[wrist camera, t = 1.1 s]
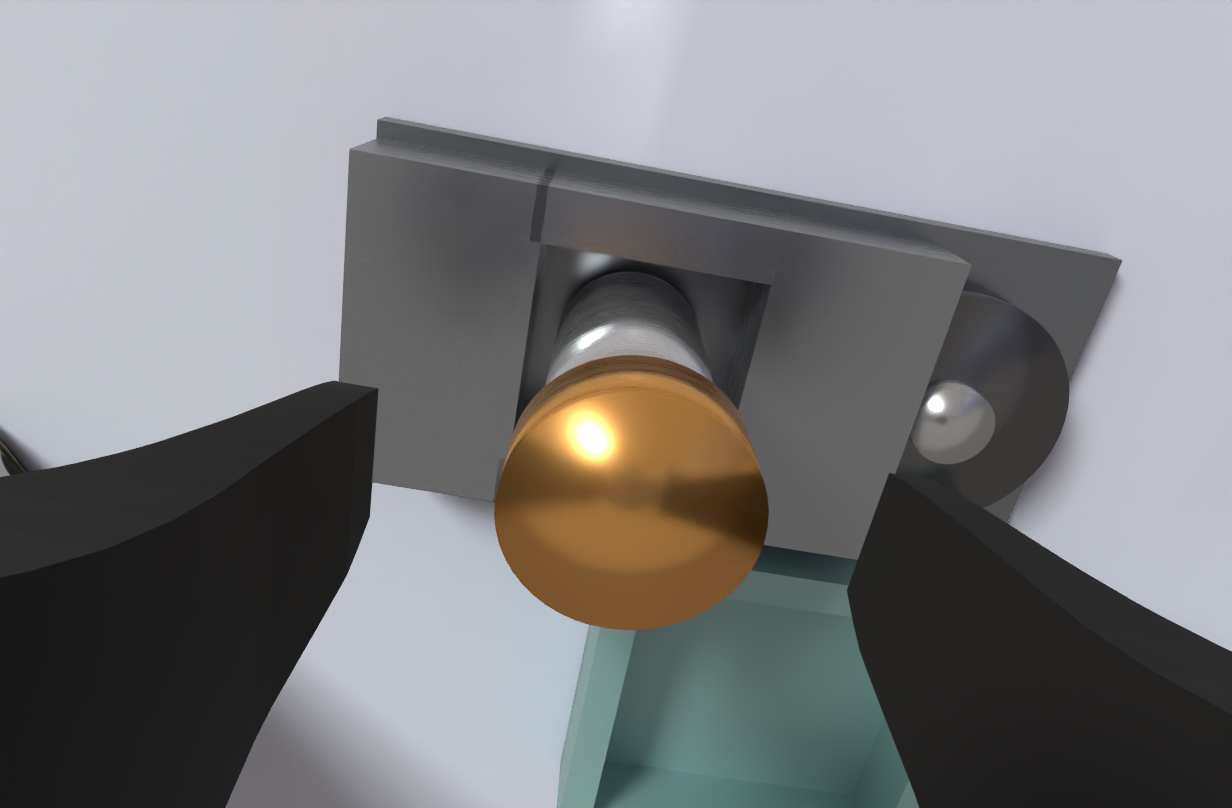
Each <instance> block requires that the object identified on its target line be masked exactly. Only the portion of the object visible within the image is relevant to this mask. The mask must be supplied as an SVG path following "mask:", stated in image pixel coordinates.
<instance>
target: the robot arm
mask: <svg viewBox="0 0 1232 808" xmlns="http://www.w3.org/2000/svg"><path fill="white" fill-rule="evenodd" d="M378 390H379V388H374V387H368V386H362V385H356V384H350V383H344V382H338V381H330V382H326V383H322V384H319V385H316V386H313V387H310V388H307V389H304V390H301V391H299V392H296V393H294V394H291V395H288V396H286V397H283V398H281V399H278V400H276V401H273V402H270V403H268V404H265V405H262V406H260V407H257V408H255V409H252V410H249V411H247V412H244V413H242V414H239V415H236V416H234V417H231V418H228V419H226V420H223V421H220V422H217V423H214V424H211V425H208V426H205V427H202V428H199V429H196V430H193V431H190V432H187V433H184V434H181V435H178V436H175V437H172V438H169V439H166V440H163V441H160V442H157V443H153V444H150V445H146V446H143V447H139V448H136V449H132V450H128V451H125V452H121V453H117V454H113V455H109V456H104V457H100V458H96V459H92V460H87V461H83V462H79V463H75V464H70V465H65V466H61V467H56V468H50V469H44V470H38V471H32V472H27V473H21V474H15V475H9V476H3V477H0V808H225V807H226V805H227V802H228V800H229V798H230V795H231V793H232V791H233V789H234V786H235V784H236V782H237V779H238V777H239V775H240V773H241V770H242V768H243V766H244V764H245V761H246V759H247V757H248V754H249V752H250V750H251V748H252V745H253V743H254V741H255V739H256V736H257V734H258V732H259V731H260V729H261V727H262V725H263V723H264V721H265V719H266V717H267V715H268V713H269V711H270V709H271V707H272V705H273V704H274V702H275V700H276V698H277V697H278V695H279V693H280V691H281V690H282V688H283V686H284V684H285V683H286V681H287V679H288V677H289V676H290V674H291V672H292V671H293V669H294V667H295V665H296V664H297V662H298V660H299V658H300V657H301V655H302V653H303V651H304V650H305V648H306V646H307V644H308V643H309V641H310V639H311V638H312V636H313V634H314V632H315V631H316V629H317V627H318V625H319V624H320V622H321V620H322V618H323V617H324V615H325V613H326V611H327V610H328V608H329V606H330V604H331V602H332V601H333V599H334V597H335V595H336V594H337V592H338V590H339V588H340V586H341V585H342V583H343V581H344V579H345V577H346V576H347V574H348V571H349V569H350V566H351V564H352V561H353V559H354V556H355V554H356V551H357V549H358V546H359V544H360V541H361V538H362V536H363V533H364V530H365V528H366V525H367V523H368V520H369V517H370V506H371V491H372V477H373V462H374V448H375V433H376V419H377V404H378ZM847 594H848V600H849V605H850V610H851V615H852V620H853V625H854V629H855V633H856V638H857V642H858V646H859V650H860V653H861V656H862V659H863V662H864V664H865V667H866V670H867V672H868V675H869V678H870V680H871V683H872V686H873V688H874V691H875V694H876V696H877V699H878V702H879V704H880V707H881V709H882V712H883V714H884V717H885V720H886V722H887V725H888V727H889V730H890V732H891V735H892V737H893V740H894V743H895V745H896V748H897V750H898V753H899V755H900V758H901V761H902V763H903V766H904V768H905V771H906V773H907V776H908V779H909V781H910V784H911V786H912V789H913V791H914V794H915V797H916V800H917V803H918V806H919V808H1232V652H1231V651H1229V650H1227V649H1225V648H1223V647H1221V646H1219V645H1217V644H1215V643H1213V642H1211V641H1209V640H1207V639H1205V638H1203V637H1201V636H1199V635H1197V634H1195V633H1193V632H1191V631H1189V630H1187V629H1185V628H1183V627H1181V626H1179V625H1177V624H1175V623H1173V622H1171V621H1170V620H1168V619H1166V618H1164V617H1162V616H1160V615H1158V614H1156V613H1154V612H1152V611H1151V610H1149V609H1147V608H1145V607H1143V606H1141V605H1140V604H1138V603H1136V602H1134V601H1132V600H1131V599H1129V598H1127V597H1126V596H1124V595H1122V594H1120V593H1119V592H1117V591H1115V590H1114V589H1112V588H1110V587H1108V586H1107V585H1105V584H1103V583H1102V582H1100V581H1098V580H1097V579H1095V578H1093V577H1091V576H1090V575H1088V574H1086V573H1085V572H1083V571H1081V570H1080V569H1078V568H1077V567H1075V566H1073V565H1072V564H1070V563H1068V562H1067V561H1065V560H1064V559H1062V558H1060V557H1059V556H1057V555H1056V554H1054V553H1053V552H1051V551H1049V550H1048V549H1046V548H1045V547H1043V546H1041V545H1040V544H1038V543H1037V542H1035V541H1034V540H1032V539H1031V538H1029V537H1027V536H1026V535H1024V534H1023V533H1021V532H1020V531H1018V530H1017V529H1015V528H1013V527H1012V526H1010V525H1009V524H1007V523H1006V522H1004V521H1003V520H1001V519H999V518H998V517H996V516H995V515H993V514H992V513H990V512H988V511H987V510H985V509H984V508H982V507H981V506H979V505H977V504H976V503H974V502H972V501H971V500H969V499H967V498H966V497H964V496H962V495H961V494H959V493H957V492H955V491H953V490H952V489H950V488H948V487H946V486H944V485H942V484H939V483H937V482H935V481H933V480H930V479H924V478H918V477H911V476H905V475H899V474H893V473H889V474H888V477H887V480H886V483H885V486H884V488H883V491H882V494H881V497H880V499H879V502H878V505H877V508H876V510H875V513H874V516H873V519H872V522H871V524H870V527H869V530H868V533H867V535H866V538H865V541H864V544H863V546H862V549H861V552H860V555H859V558H858V560H857V563H856V566H855V569H854V571H853V574H852V577H851V580H850V583H849V585H848V588H847Z"/></svg>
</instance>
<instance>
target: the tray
mask: <svg viewBox="0 0 1232 808" xmlns="http://www.w3.org/2000/svg"><path fill="white" fill-rule="evenodd" d="M856 563H857V560H855V559H849V558H843V557H836V556H830V555H824V554H818V553H811V552H805V551H799V550H793V549H786V548H780V547H774V546H768V545H763V547H762V550H761V552H760V555H759V557H758V559H757V561H756V563H755V564H754V566H753V568H752V570H751V571H750V572H749V574H748V575H747V576H746V578H745V579H744V580H743V582H742V583H741V584H740V585H739V586H738V587H737V588H736V589H735V590H734V591H733V592H732V593H731V594H730V595H729V596H727V597H726V598H725V599H724V600H722V601H721V602H720V603H719V604H717V605H715V606H714V607H712V608H711V609H709V610H707V611H706V612H704V613H702V614H700V615H698V616H695V617H693V618H691V619H689V620H686V621H683V622H680V623H677V624H674V625H670V626H665V627H661V628H655V629H646V630H617V629H607V628H602V627H597V626H592V625H590V626H589V631H588V635H587V640H586V645H585V650H584V655H583V659H582V664H581V669H580V674H579V678H578V683H577V688H576V693H575V697H574V702H573V707H572V712H571V716H570V721H569V726H568V731H567V736H566V740H565V745H564V750H563V755H562V759H561V764H560V775H559V787H558V798H557V808H919V806H918V803H917V800H916V797H915V794H914V791H913V789H912V786H911V784H910V781H909V779H908V776H907V773H906V771H905V768H904V766H903V763H902V761H901V758H900V755H899V753H898V750H897V748H896V745H895V743H894V740H893V737H892V735H891V732H890V730H889V727H888V725H887V722H886V720H885V717H884V714H883V712H882V709H881V707H880V704H879V702H878V699H877V696H876V694H875V691H874V688H873V686H872V683H871V680H870V678H869V675H868V672H867V670H866V667H865V664H864V662H863V659H862V656H861V653H860V650H859V646H858V642H857V638H856V633H855V629H854V625H853V620H852V615H851V610H850V605H849V600H848V594H847V588H848V585H849V583H850V580H851V577H852V574H853V571H854V569H855V566H856Z"/></svg>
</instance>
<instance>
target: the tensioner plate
mask: <svg viewBox="0 0 1232 808" xmlns="http://www.w3.org/2000/svg"><path fill="white" fill-rule="evenodd" d="M1121 262H1122V260H1120V259H1118V258H1116V257H1113V256H1111V255H1109V254H1106V253H1101V252H1096V251H1091V250H1086V249H1080V248H1075V247H1070V246H1064V245H1059V244H1054V243H1049V242H1043V241H1038V240H1033V239H1027V238H1022V237H1017V236H1012V235H1006V234H1001V233H996V232H991V231H985V230H980V229H975V228H969V227H964V226H959V225H954V224H948V223H943V222H938V221H932V220H927V219H922V218H917V217H911V216H906V215H901V214H895V213H890V212H885V211H880V210H874V209H869V208H864V207H859V206H853V205H848V204H843V203H837V202H832V201H827V200H822V199H816V198H811V197H806V196H800V195H795V194H790V193H785V192H779V191H774V190H769V189H763V188H758V187H753V186H748V185H742V184H737V183H732V182H727V181H721V180H716V179H711V178H705V177H700V176H695V175H690V174H684V173H679V172H674V171H668V170H663V169H658V168H653V167H647V166H642V165H637V164H631V163H626V162H621V161H616V160H610V159H605V158H600V157H595V156H589V155H584V154H579V153H573V152H568V151H563V150H558V149H552V148H547V147H542V146H536V145H531V144H526V143H521V142H515V141H510V140H505V139H499V138H494V137H489V136H484V135H478V134H473V133H468V132H463V131H457V130H452V129H447V128H441V127H436V126H431V125H426V124H420V123H415V122H410V121H404V120H399V119H394V118H389V117H384V118H381V119H378V121H377V138H376V139H375V140H372V141H370V142H367V143H364V144H362V145H359V146H356V147H354V148H351V149H350V152H349V174H348V196H347V217H346V239H345V260H344V282H343V303H342V325H341V346H340V368H339V382H344V383H350V384H356V385H362V386H368V387H374V388H379V390H378V404H377V419H376V433H375V448H374V462H373V477H372V482H373V483H380V484H386V485H392V486H398V487H405V488H411V489H417V490H423V491H430V492H436V493H442V494H449V495H455V496H461V497H467V498H474V499H480V500H486V501H492V502H495V498H496V494H497V489H498V485H499V481H500V477H501V474H502V470H503V467H504V463H505V460H506V456H507V453H508V449H509V446H510V442H511V439H512V435H513V433H514V430H515V427H516V425H517V422H518V420H519V419H520V417H521V415H522V413H523V411H524V410H525V408H526V407H527V405H528V404H529V403H530V402H531V400H532V399H533V398H534V396H535V395H536V394H537V393H538V392H540V391H541V390H542V389H543V388H544V387H545V384H546V379H547V375H548V370H549V366H550V362H551V357H552V353H553V349H554V344H555V340H556V336H557V331H558V327H559V323H560V319H561V316H562V314H563V311H564V309H565V308H566V306H567V304H568V303H569V301H570V300H571V298H572V297H573V296H574V295H575V294H576V293H577V292H578V291H579V290H580V289H581V288H582V287H584V286H585V285H586V284H588V283H589V282H591V281H593V280H594V279H597V278H599V277H601V276H604V275H607V274H611V273H616V272H622V271H634V272H642V273H646V274H650V275H653V276H656V277H658V278H660V279H662V280H664V281H666V282H668V283H669V284H670V285H672V286H673V287H675V288H676V289H677V290H678V291H679V292H680V293H681V294H682V295H683V296H684V298H685V299H686V300H687V301H688V303H689V305H690V306H691V308H692V310H693V312H694V315H695V317H696V320H697V324H698V328H699V331H700V335H701V339H702V343H703V346H704V350H705V354H706V358H707V361H708V365H709V369H710V372H711V376H712V380H713V383H714V384H715V385H716V386H717V387H718V388H719V389H720V390H721V391H722V392H724V393H725V394H726V396H727V397H728V398H729V399H730V401H731V402H732V403H733V404H734V406H735V407H736V409H737V410H738V412H739V414H740V415H741V417H742V419H743V421H744V423H745V426H746V428H747V431H748V433H749V436H750V439H751V442H752V446H753V449H754V452H755V455H756V458H757V461H758V464H759V467H760V470H761V473H762V476H763V479H764V483H765V487H766V491H767V496H768V507H769V517H768V528H767V533H766V537H765V542H764V544H763V545H768V546H774V547H780V548H786V549H793V550H799V551H805V552H811V553H818V554H824V555H830V556H836V557H843V558H849V559H855V560H858V558H859V555H860V552H861V549H862V546H863V544H864V541H865V538H866V535H867V533H868V530H869V527H870V524H871V522H872V519H873V516H874V513H875V510H876V508H877V505H878V502H879V499H880V497H881V494H882V491H883V488H884V486H885V483H886V480H887V477H888V474H889V473H893V474H899V475H905V476H911V477H918V478H924V479H930V480H933V481H935V482H937V483H939V484H942V485H944V486H946V487H948V488H950V489H952V490H953V491H955V492H957V493H959V494H961V495H962V496H964V497H966V498H967V499H969V500H971V501H972V502H974V503H976V504H977V505H979V506H981V507H982V508H984V509H985V510H987V511H988V512H990V513H992V514H993V515H995V516H996V517H998V518H999V519H1001V520H1003V521H1004V522H1006V523H1007V521H1008V518H1009V516H1010V514H1011V511H1012V509H1013V507H1014V505H1015V502H1016V500H1017V498H1018V496H1019V493H1020V491H1021V489H1022V487H1023V484H1024V482H1025V481H1026V480H1027V479H1028V478H1029V477H1030V476H1031V475H1032V474H1033V473H1034V472H1035V471H1036V470H1037V469H1038V468H1039V467H1040V465H1041V464H1042V463H1043V462H1044V460H1045V459H1046V457H1047V456H1048V455H1049V453H1050V452H1051V450H1052V449H1053V447H1054V445H1055V443H1056V441H1057V439H1058V437H1059V435H1060V433H1061V430H1062V427H1063V425H1064V422H1065V418H1066V414H1067V409H1068V402H1069V380H1070V378H1071V376H1072V373H1073V371H1074V369H1075V367H1076V364H1077V362H1078V360H1079V358H1080V355H1081V353H1082V351H1083V348H1084V346H1085V344H1086V342H1087V339H1088V337H1089V335H1090V333H1091V330H1092V328H1093V326H1094V324H1095V321H1096V319H1097V317H1098V315H1099V312H1100V310H1101V308H1102V305H1103V303H1104V301H1105V299H1106V296H1107V294H1108V292H1109V290H1110V287H1111V285H1112V283H1113V281H1114V278H1115V276H1116V274H1117V272H1118V269H1119V267H1120V265H1121Z"/></svg>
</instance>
